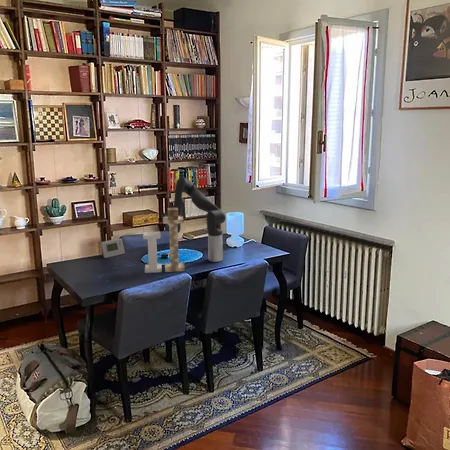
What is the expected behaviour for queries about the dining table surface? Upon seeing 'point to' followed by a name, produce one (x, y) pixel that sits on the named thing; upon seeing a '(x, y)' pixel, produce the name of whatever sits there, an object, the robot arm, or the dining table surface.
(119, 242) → the digital clock
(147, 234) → the white column stand
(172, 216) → the teal and brown block
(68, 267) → the dining table surface
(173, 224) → the marbled pedestal stand
